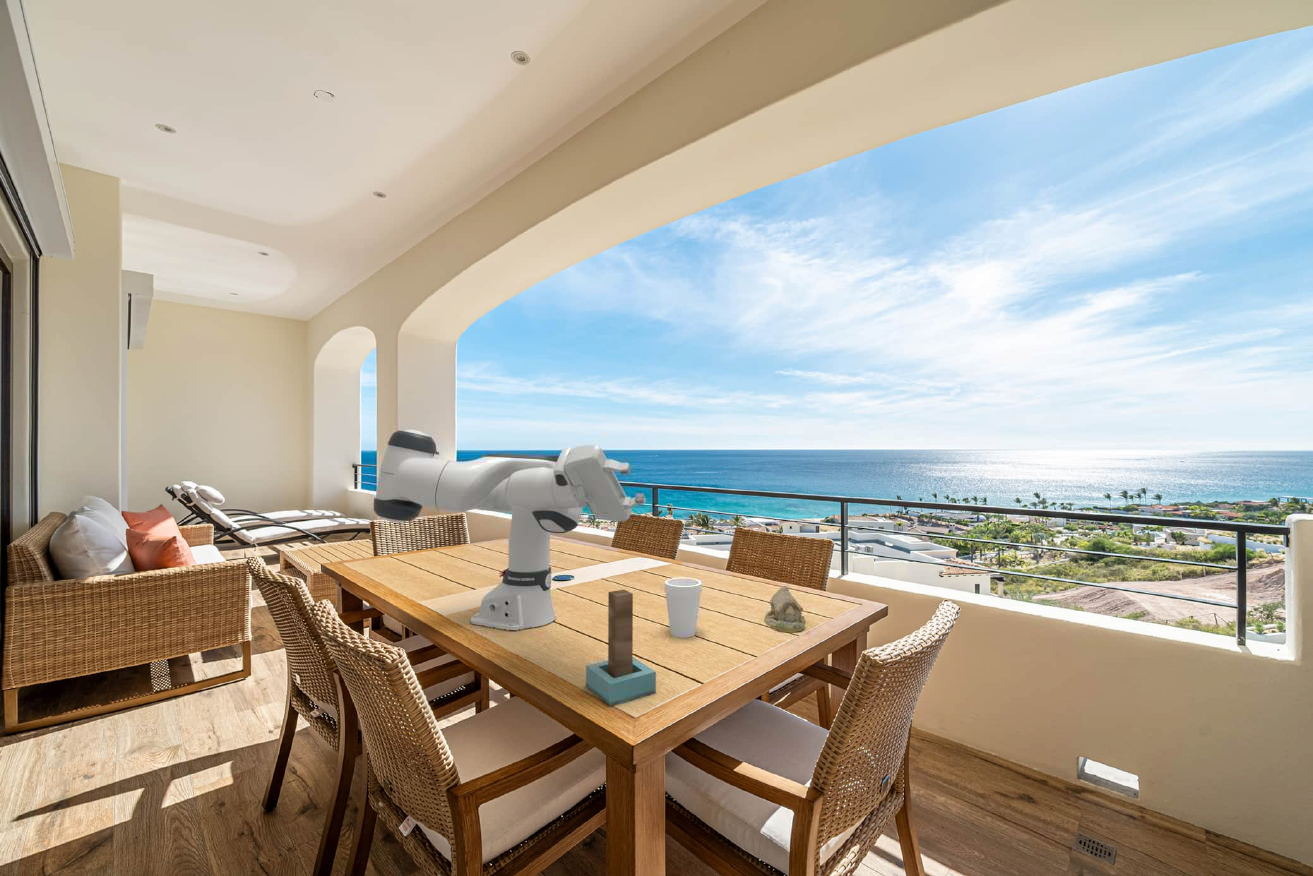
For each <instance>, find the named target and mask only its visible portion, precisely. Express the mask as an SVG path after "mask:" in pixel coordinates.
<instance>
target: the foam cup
mask: <svg viewBox="0 0 1313 876" xmlns="http://www.w3.org/2000/svg"><path fill="white" fill-rule="evenodd" d="M702 587H703V586H702V581H701V580H699V579H696V578H693V577H692V578H691V577H673V578H669V579H666V580H665V581H664V593H665V600H666V606H667V615H668V624H669V632H670V635H671V636H673V637H675V638H680V639H682V638H683V639H685V638H686V639H687V638H691V637H694V636H696V633H697V632H696V631H697V626H698V624H697V623H698V618H699V616H698V615H699V610H700V602H701V593H702V591H703V590H702V589H703V588H702Z"/></svg>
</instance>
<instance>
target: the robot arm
mask: <svg viewBox="0 0 1313 876" xmlns="http://www.w3.org/2000/svg"><path fill="white" fill-rule="evenodd" d="M435 455H437V456H440V452H439V451H437V444H436V442H435V440H434V439H433V438H432V436H429V435H428V434H427V433H425V432H423V431H420V430H418V429H409V428H408V429H403V430H396V431H394V432H393V433H392V434H391V436H390V438H389V440H388V442H387V448H386V450H385V453H384V455H383V457H382V461H381V464H380V467H379V475H378V480H377V486H376V493H375V497H374V498H373V511H374V513H375V514H376V516H378V517H380V518H382V519H383V520H385V521H387V522H390V523H391V522H392V523H405V522H406V523H407V522H412V521H413V520H415V519H417V518H418V516H419V515H420V513H421V511H422V509H423V508H424V507H428V508H432V509H437V510H442V511H447V512H452V513H465V512H468V511H470V510H474V509H475V510H480V511H487V512H488V511H489V512H498V513H505V514H506V513H507V514H511V519H510V520H511V521H510V522H511V523H510V530H509V537H508V553H507V554H508V566H507V568H506V569H504V570H502V571H501V572H499V576H498V578H501V577H502V580H501V582H500V583H499V584H498V585H496V586H495V587H494V588H493V589H491V590H490V591H489V592H488V593H486V594H485V595H484V597H483V598H482V600H481V603H480V607H479V611H478V612H476V613H475V614H474V615H473V616H471V618H470V624H473V625H476V626H477V625H478V626H482V625H484V627H489V628H493V627H495V628H494V629H499V630H504V629H506V631H509V630H516V631H519V629H520V630H524V629H530V627H531V628H537V627H541V626H544V625H548V624H551V623H552V622H553V621H555V619H556V614H555V611H554V607H553V602H552V595H551V594H552V593H551V587H552V567H551V566H550V558H551V557H550V554H551V553H550V551H551V547H550V545H551V542H550V541H551V534H566V533H569V532H571V531H574V530H575V529H576V528H577V527H578V526H579V523H580V519H581V517H582V512H583V509H584V508H586V507H587V508H588V510H589V513H590V514H592V515H594V516H595V517H596V518H598V519H601V520H603V521H612V522H626V521H628V520H629V519H630V517H631V514H632V510H633V508H634V507H636V506H638V505H639V506H640V505H641V506H642V505H645V504H646V501H647V498H646V496H645V494H644V493H636V494H635V497H633V498H632V497H631V496H627V494H626V493H625V491H624V489H623V487H622V485H621V484H620V481H619V478H617V475H616V474H615V472H618V473H620V475H621V476H623V475H629V474H630V473H631V470H632V468H631V466H630V464H629V462H620V461H618V460H615V459H611V458H607V457H606V455H605V453H604V450H603V448H601V447H600V446H597V445H594V444H589V445H588V444H587V445H586V444H585V445H579V446H574V447H571V448H570V447H564V448H562V450H561V452H560V453H559V454H555V455H544V454H524V453H522V454H521V453H486V454H484V455H482V456H481V457H480V458H476V459H472V460H468V461H455V460H454V461H453V460H449V459H442V458H437V457H436V458H435ZM423 506H424V507H423Z"/></svg>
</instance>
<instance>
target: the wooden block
mask: <svg viewBox="0 0 1313 876" xmlns="http://www.w3.org/2000/svg"><path fill="white" fill-rule="evenodd" d="M607 596H608V600H607V601H608V602H607V603H608V604H607V605H608V612H607V613H608V615H607V617H608V618H607V619H608V621H607V622H608V623H607V625H608V626H607V629H608V630H607V631H608V632H607V641H608V642H607V643H608V644H607V646H608V647H607V648H608V649H607V658H608V659H607V660H608V674H609V675H610V676H612V677H613V678H617V677H621V676H625V675H628V674H632V673H633V657H634V655H633V645H634V644H633V643H634V642H633V638H634V637H633V635H634V634H633V633H634V632H633V630H634V628H633V624H634V622H633V621H634V620H633V619H634V618H633V617H634V616H633V613H634V611H633V610H634V608H633V607H634V606H633V605H634V604H633V603H634V601H633V599H634V594H633V592H630V591H629V590H627V589H619V590H618V589H617V590H612V591H608V595H607Z"/></svg>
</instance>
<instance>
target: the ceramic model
mask: <svg viewBox="0 0 1313 876" xmlns="http://www.w3.org/2000/svg"><path fill="white" fill-rule="evenodd" d="M769 604H770V611H767V612H766V613H765V616H764V619H763V620H764V622H765V623H766V625H767V626H769V627H770V628H771V627H772V628H771V629H773V630H774V629H775V630H774V631H776V630H778V631H777V632H780V633H797V632H801V631H804V630H805V629H806V626H805V621H806V620H805V619H806V618H805V616H803V614H802V613H803V611H804V608H803V607H802V606H801V604H799V602H798V601H797V600H796V598H795V597H794V596H793V595H792V593H791V592H790V589H789V587H788V585H787V586H785V585H784V586H782V587H780V588H779V589H778V590H777V591H776V592H775V593H774V594H773V595H772V596H771V598H770V600H769Z"/></svg>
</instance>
